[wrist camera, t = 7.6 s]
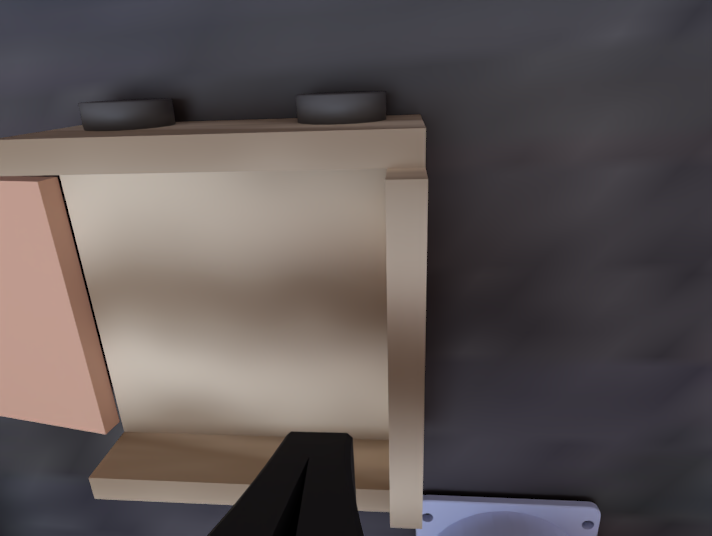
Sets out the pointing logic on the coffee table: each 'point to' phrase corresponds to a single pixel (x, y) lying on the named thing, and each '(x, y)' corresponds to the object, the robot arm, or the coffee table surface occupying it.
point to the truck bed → (251, 289)
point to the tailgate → (47, 315)
